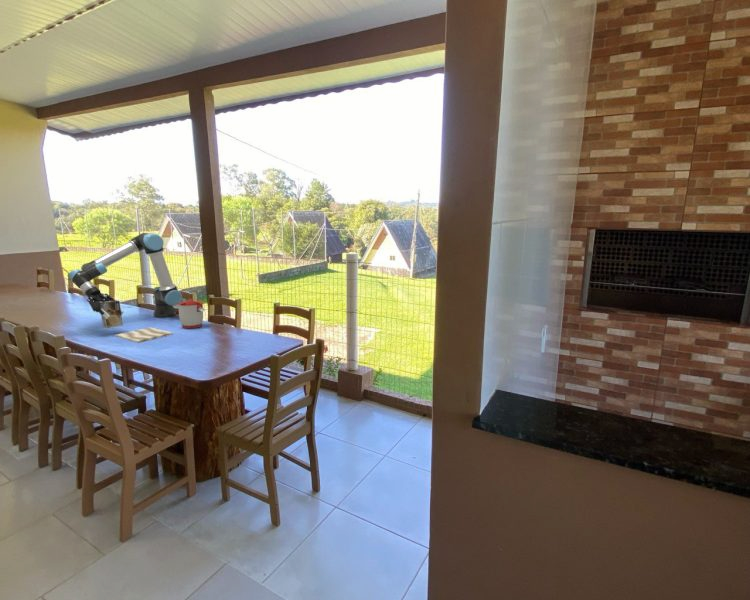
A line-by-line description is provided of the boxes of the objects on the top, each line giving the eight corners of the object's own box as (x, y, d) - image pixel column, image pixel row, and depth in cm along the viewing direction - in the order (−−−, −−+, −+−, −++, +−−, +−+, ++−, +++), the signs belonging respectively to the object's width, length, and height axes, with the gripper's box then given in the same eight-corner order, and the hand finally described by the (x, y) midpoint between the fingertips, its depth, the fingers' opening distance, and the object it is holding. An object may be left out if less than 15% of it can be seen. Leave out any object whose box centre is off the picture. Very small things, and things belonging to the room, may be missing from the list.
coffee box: (118, 323, 246) (115, 299, 243) (123, 325, 243) (120, 301, 239) (102, 326, 239) (99, 302, 235) (106, 328, 235) (103, 303, 232)
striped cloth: (150, 329, 254) (150, 327, 254) (172, 334, 243) (172, 332, 243) (115, 336, 235) (115, 334, 235) (137, 342, 224) (137, 340, 224)
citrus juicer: (196, 330, 253) (195, 301, 249) (174, 328, 256) (172, 299, 253) (211, 325, 268) (209, 297, 264) (189, 323, 271) (187, 296, 268)
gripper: (102, 291, 250) (126, 315, 251) (70, 297, 228) (96, 324, 229) (108, 283, 248) (132, 307, 249) (76, 289, 226) (103, 315, 227)
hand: (115, 315), depth 239 cm, fingers closed on coffee box, 10 cm apart
